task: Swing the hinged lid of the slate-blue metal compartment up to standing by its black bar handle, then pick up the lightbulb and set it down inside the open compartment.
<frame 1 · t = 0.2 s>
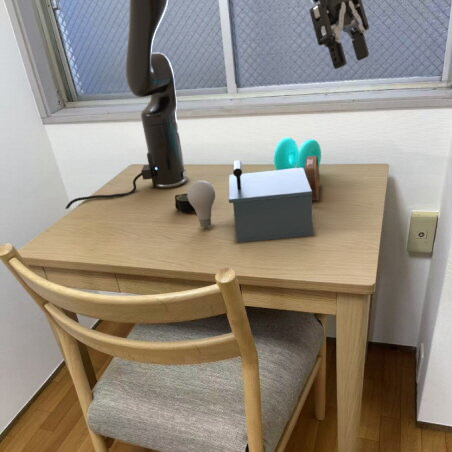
hand: (352, 62, 86), 31 cm above the table, tool tilted 20°, fingers open, 8 cm apart
tin: (312, 194, 118), on the table
compartment: (272, 224, 106), on the table
tape measure: (188, 210, 119), on the table
lid: (267, 173, 100), point 12 cm above the table, hinge at 0.0°
turquoise spool: (298, 176, 130), on the table
lightbulb: (206, 228, 109), on the table
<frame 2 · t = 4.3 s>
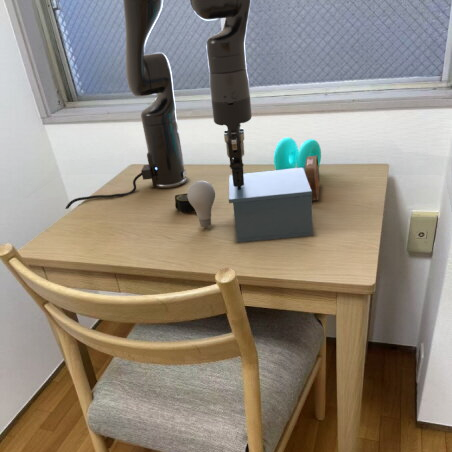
hand: (238, 180, 101), 11 cm above the table, tool pointing down, fingers closed on lid, 5 cm apart
lid: (267, 173, 100), point 12 cm above the table, hinge at 0.0°, touching gripper
everything else where it was.
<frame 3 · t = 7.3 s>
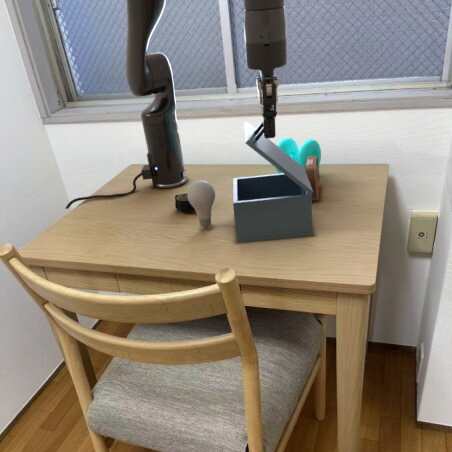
hand: (268, 133, 95), 20 cm above the table, tool pointing down, fingers closed on lid, 5 cm apart
lid: (284, 147, 97), point 17 cm above the table, hinge at 43.6°, touching gripper
everything else where it was.
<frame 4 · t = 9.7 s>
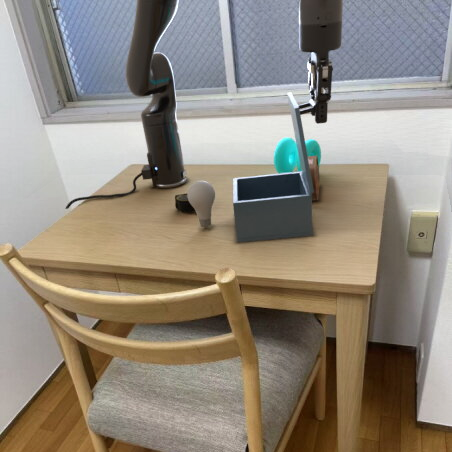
hand: (318, 118, 93), 22 cm above the table, tool pointing down, fingers closed on lid, 5 cm apart
lid: (311, 138, 96), point 18 cm above the table, hinge at 81.3°, touching gripper
everything else where it was.
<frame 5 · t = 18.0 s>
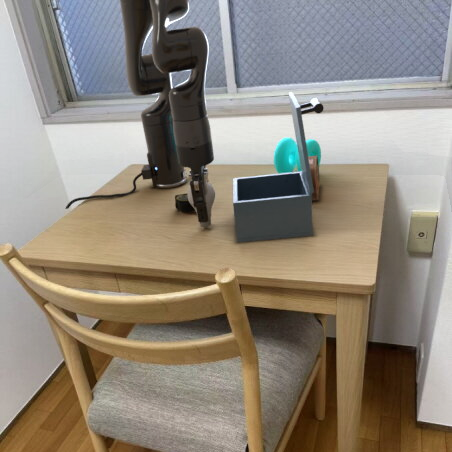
hand: (204, 215, 107), 3 cm above the table, tool pointing down, fingers closed on lightbulb, 6 cm apart
lid: (312, 138, 96), point 18 cm above the table, hinge at 82.1°
lightbulb: (206, 228, 109), on the table, touching gripper
everything else where it was.
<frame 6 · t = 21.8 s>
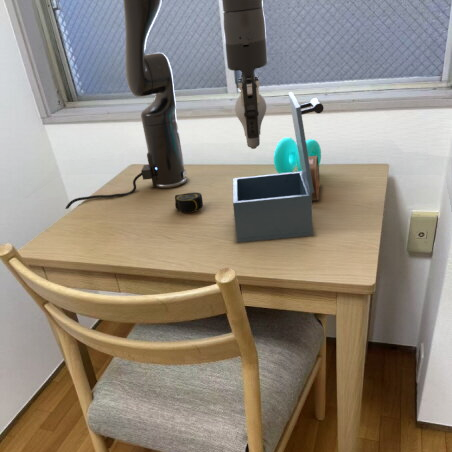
hand: (252, 133, 95), 20 cm above the table, tool pointing down, fingers closed on lightbulb, 6 cm apart
lightbulb: (253, 149, 97), point 17 cm above the table, touching gripper
everything else where it was.
when the fingers open (4 cm above the table, at t = 25.8 s): lightbulb stays where it is, resting on compartment.
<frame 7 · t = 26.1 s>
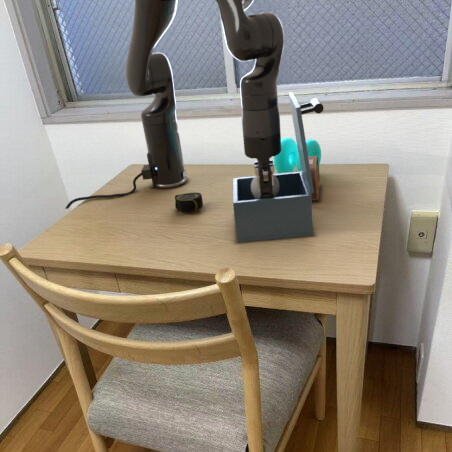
hand: (266, 207, 104), 4 cm above the table, tool pointing down, fingers open, 7 cm apart
lightbulb: (267, 221, 106), point 1 cm above the table, touching compartment
everything else where it was.
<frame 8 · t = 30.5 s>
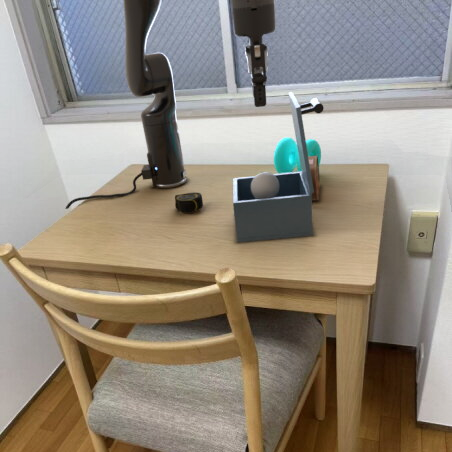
hand: (259, 101, 92), 26 cm above the table, tool pointing down, fingers open, 8 cm apart
nothing on the table moved.
at the end: lid at +82° (first picture: +0°); lightbulb inside the target area in the compartment (1.0 cm from its centre), point 0.7 cm above the compartment's base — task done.
